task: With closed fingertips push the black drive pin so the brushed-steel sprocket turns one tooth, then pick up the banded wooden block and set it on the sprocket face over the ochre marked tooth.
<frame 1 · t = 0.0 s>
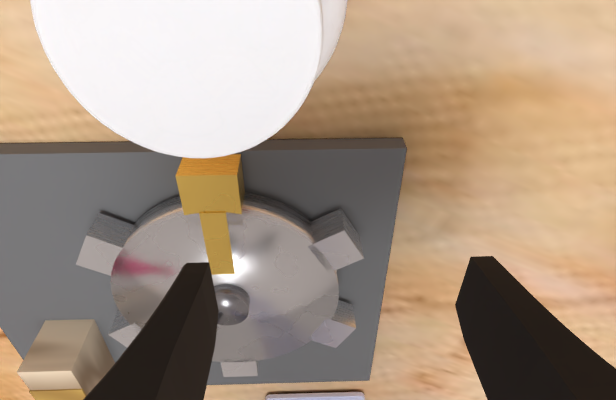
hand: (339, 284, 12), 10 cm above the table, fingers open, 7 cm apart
mat: (188, 283, 27), on the table
banded wooden block: (82, 343, 28), point 1 cm above the table, touching mat
sprocket: (225, 306, 22), point 4 cm above the table, hinge at 0.0°
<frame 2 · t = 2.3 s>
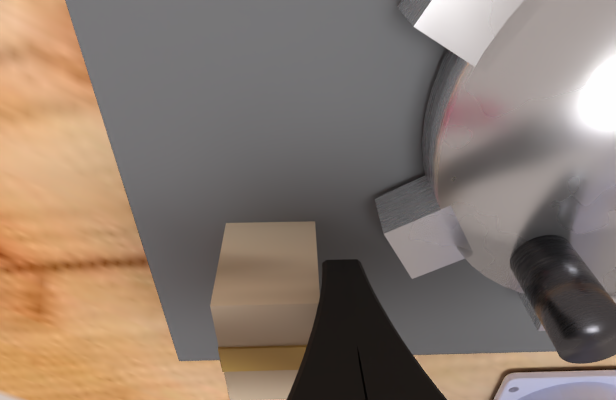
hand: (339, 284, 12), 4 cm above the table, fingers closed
mat: (494, 152, 14), on the table
banded wooden block: (274, 273, 16), point 1 cm above the table, touching gripper, mat
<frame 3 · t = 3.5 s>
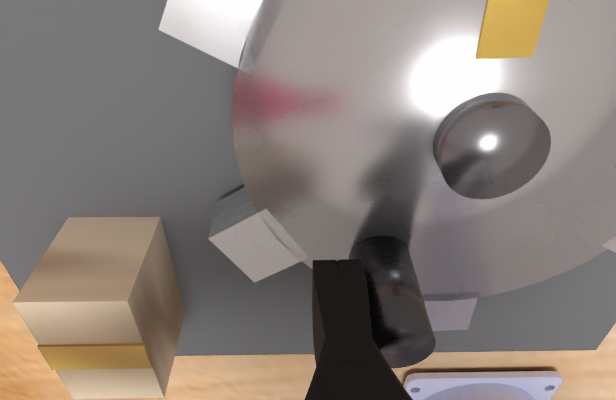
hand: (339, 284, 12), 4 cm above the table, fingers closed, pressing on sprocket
mat: (343, 148, 14), on the table
banded wooden block: (132, 269, 16), point 1 cm above the table, touching mat
sprocket: (494, 146, 10), point 4 cm above the table, hinge at 2.6°, touching gripper
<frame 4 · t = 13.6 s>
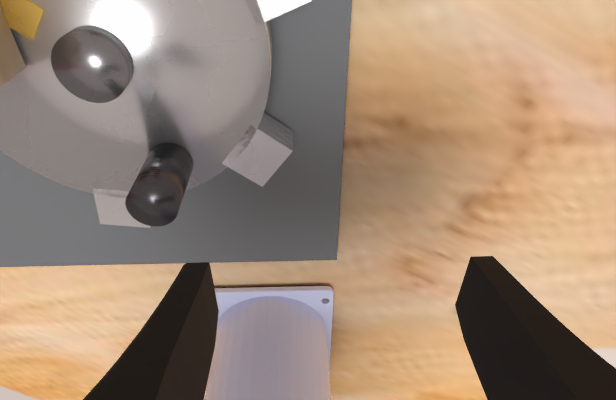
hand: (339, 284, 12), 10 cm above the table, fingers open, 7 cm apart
mat: (66, 83, 18), on the table
sprocket: (85, 64, 14), point 4 cm above the table, hinge at 52.6°, touching banded wooden block
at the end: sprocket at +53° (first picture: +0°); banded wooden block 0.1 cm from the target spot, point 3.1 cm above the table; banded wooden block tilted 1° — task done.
